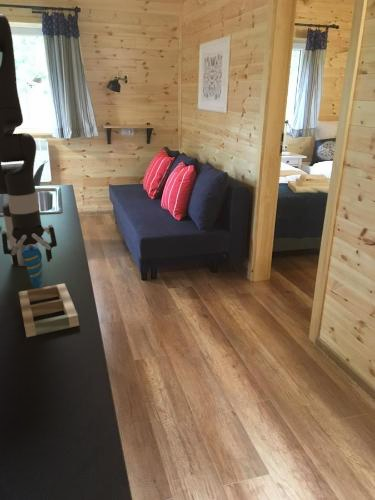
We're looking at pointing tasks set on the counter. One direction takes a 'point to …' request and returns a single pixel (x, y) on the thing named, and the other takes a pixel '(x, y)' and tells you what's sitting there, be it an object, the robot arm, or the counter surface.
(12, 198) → the robot arm
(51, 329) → the wooden frame
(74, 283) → the counter surface
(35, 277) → the ornament
